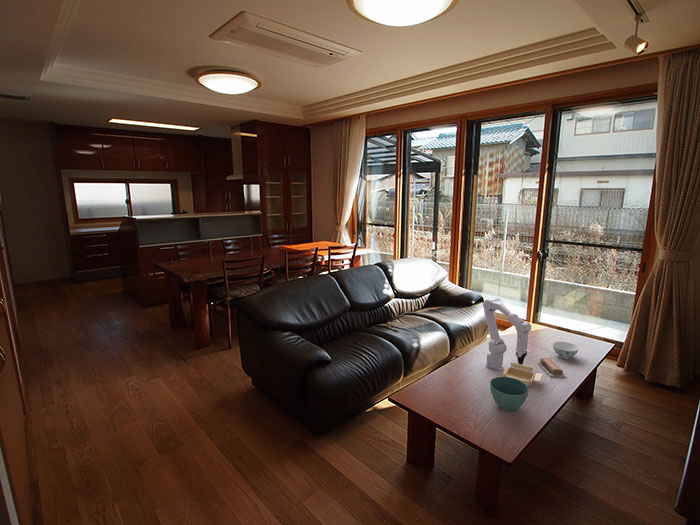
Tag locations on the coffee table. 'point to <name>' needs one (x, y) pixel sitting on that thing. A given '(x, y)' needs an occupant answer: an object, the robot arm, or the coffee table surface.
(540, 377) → the far flap
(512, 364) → the left flap
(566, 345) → the chinaware
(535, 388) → the coffee table surface
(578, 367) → the coffee table surface
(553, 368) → the packaged product
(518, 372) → the carton
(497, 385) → the teal green bowl
